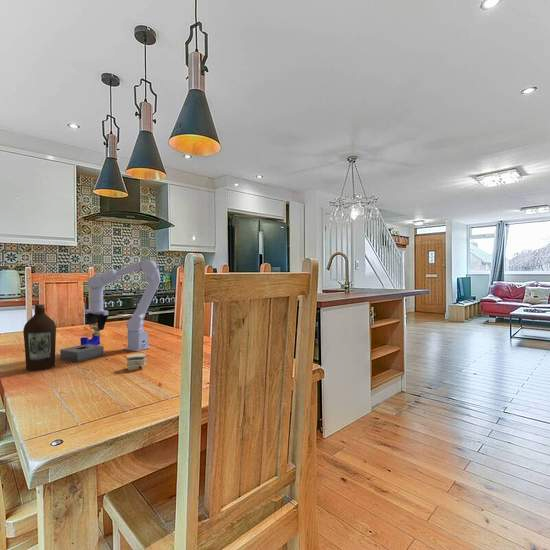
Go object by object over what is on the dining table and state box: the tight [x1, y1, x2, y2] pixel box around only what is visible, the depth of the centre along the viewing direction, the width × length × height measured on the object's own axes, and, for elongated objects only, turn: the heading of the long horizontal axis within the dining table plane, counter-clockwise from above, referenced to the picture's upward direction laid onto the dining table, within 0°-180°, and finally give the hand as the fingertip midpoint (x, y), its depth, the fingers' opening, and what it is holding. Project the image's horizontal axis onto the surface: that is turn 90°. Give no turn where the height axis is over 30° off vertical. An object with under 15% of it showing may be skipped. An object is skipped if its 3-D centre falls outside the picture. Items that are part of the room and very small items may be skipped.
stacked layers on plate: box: [125, 352, 148, 371], centre depth 128 cm, size 10×9×6 cm
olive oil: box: [22, 303, 57, 372], centre depth 129 cm, size 11×11×25 cm
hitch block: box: [59, 344, 105, 363], centre depth 145 cm, size 12×12×4 cm
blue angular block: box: [79, 332, 101, 346], centre depth 164 cm, size 12×4×6 cm, turn 0°
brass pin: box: [89, 322, 101, 337], centre depth 156 cm, size 6×6×6 cm
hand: (96, 329), depth 156 cm, fingers closed on brass pin, 6 cm apart
